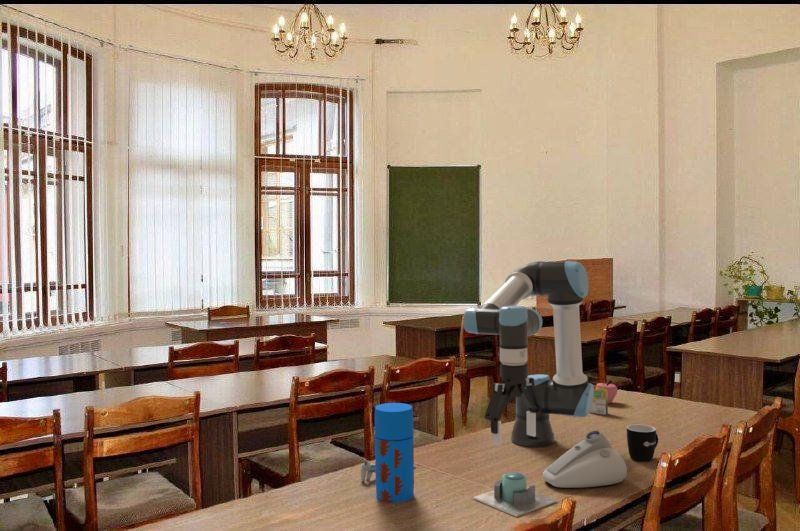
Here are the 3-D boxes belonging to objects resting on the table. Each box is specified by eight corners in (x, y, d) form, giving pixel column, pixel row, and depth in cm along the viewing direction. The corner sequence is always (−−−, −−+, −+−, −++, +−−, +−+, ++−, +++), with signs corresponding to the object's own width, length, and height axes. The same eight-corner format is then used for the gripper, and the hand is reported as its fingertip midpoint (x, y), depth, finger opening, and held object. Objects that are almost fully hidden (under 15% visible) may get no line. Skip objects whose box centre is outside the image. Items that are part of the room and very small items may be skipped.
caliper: (363, 483, 202) (363, 462, 202) (361, 482, 203) (360, 461, 203) (416, 468, 215) (415, 448, 214) (413, 467, 215) (413, 448, 215)
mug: (642, 465, 214) (642, 433, 213) (620, 457, 222) (620, 426, 221) (668, 458, 220) (668, 427, 219) (646, 451, 227) (646, 421, 227)
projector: (555, 464, 216) (555, 418, 215) (631, 474, 206) (631, 426, 206) (538, 487, 196) (538, 437, 195) (621, 499, 186) (621, 446, 186)
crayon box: (608, 413, 278) (607, 385, 278) (606, 415, 276) (605, 386, 275) (590, 411, 282) (590, 383, 282) (588, 412, 279) (588, 384, 279)
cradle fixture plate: (473, 499, 188) (473, 484, 188) (513, 485, 197) (513, 471, 197) (516, 517, 175) (516, 501, 175) (556, 501, 185) (556, 487, 185)
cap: (497, 497, 187) (497, 475, 187) (513, 492, 191) (513, 470, 190) (515, 504, 182) (515, 481, 181) (531, 498, 186) (531, 476, 185)
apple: (604, 399, 302) (604, 377, 302) (621, 403, 295) (621, 380, 295) (591, 403, 296) (591, 380, 295) (609, 406, 289) (609, 383, 289)
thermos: (392, 485, 199) (391, 400, 198) (421, 493, 192) (420, 406, 191) (367, 496, 190) (366, 408, 190) (397, 505, 184) (396, 414, 183)
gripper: (491, 370, 174) (491, 452, 175) (554, 359, 190) (555, 434, 190) (470, 366, 180) (471, 445, 181) (533, 355, 196) (534, 428, 196)
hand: (514, 440), depth 186 cm, fingers open, 13 cm apart
